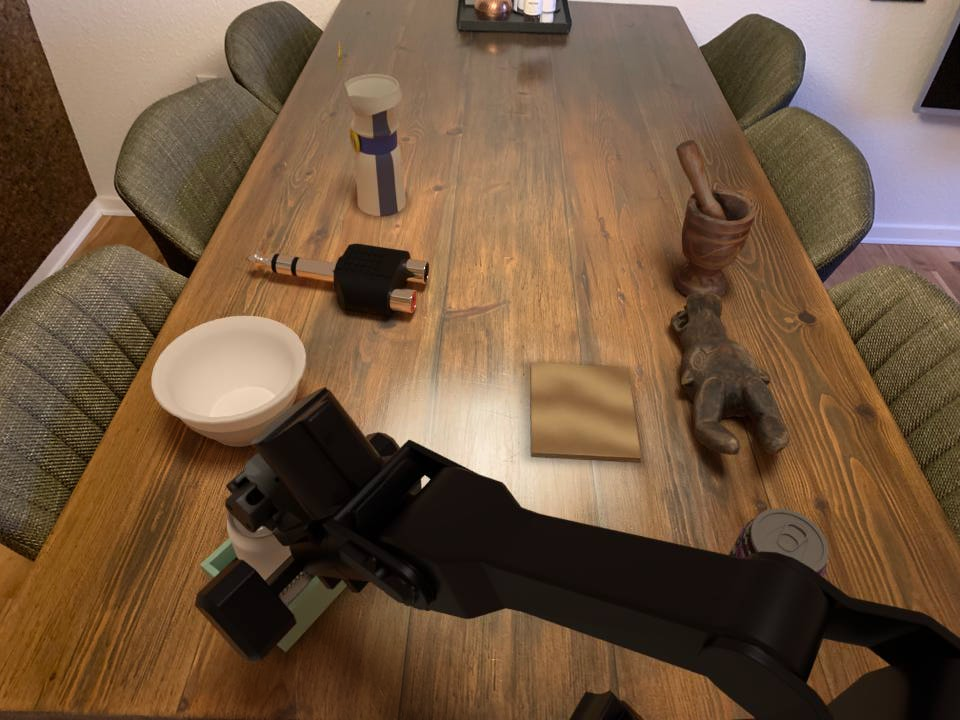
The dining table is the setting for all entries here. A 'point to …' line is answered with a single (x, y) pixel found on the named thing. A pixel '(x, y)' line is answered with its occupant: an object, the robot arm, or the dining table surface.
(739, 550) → the beverage can
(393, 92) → the water bottle
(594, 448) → the board
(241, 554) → the can
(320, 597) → the tote
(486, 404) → the dining table surface
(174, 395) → the bowl
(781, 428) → the sculpture
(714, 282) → the mortar and pestle
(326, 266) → the audio adapter
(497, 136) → the dining table surface
